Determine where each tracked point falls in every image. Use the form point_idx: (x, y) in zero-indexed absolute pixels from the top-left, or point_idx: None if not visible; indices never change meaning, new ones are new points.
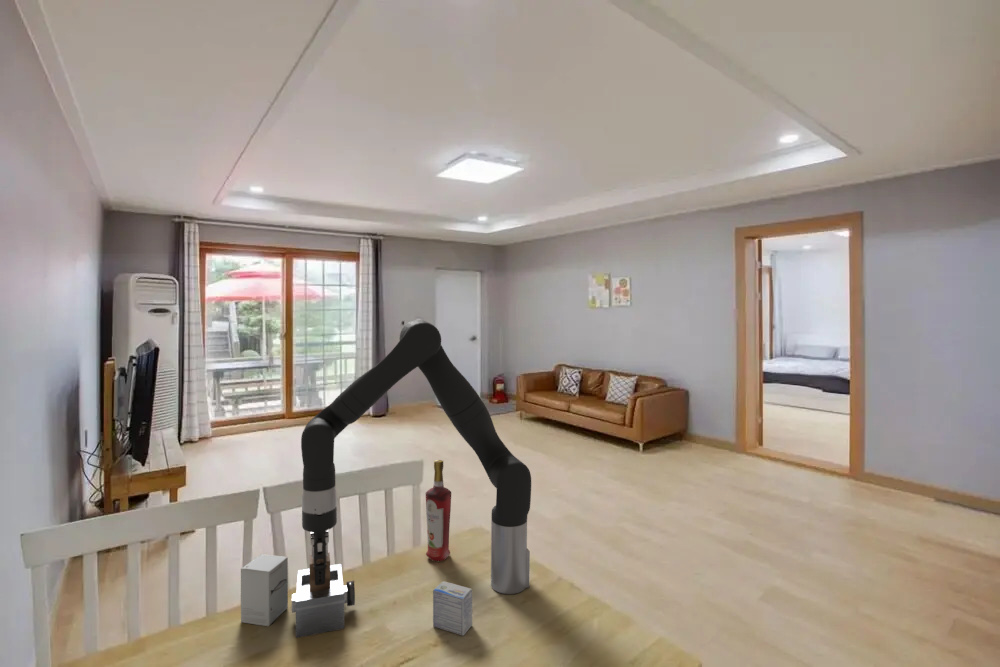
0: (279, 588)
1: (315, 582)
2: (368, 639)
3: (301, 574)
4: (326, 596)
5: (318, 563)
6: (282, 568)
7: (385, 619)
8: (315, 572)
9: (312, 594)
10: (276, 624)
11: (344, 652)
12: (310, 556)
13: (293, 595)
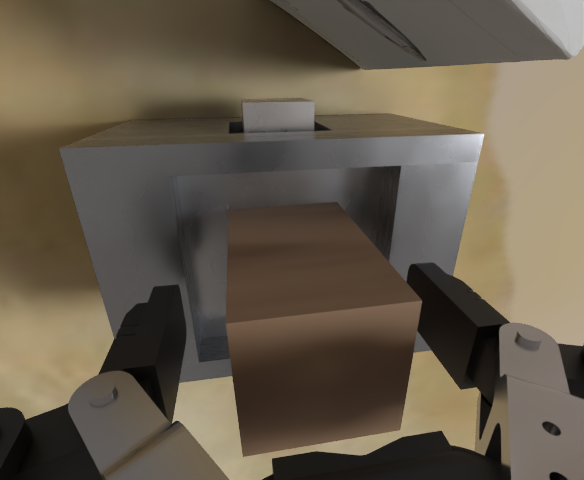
0: (350, 11)
1: (152, 296)
2: (89, 353)
3: (418, 161)
4: (109, 318)
5: (73, 466)
6: (449, 12)
7: (190, 388)
8: (133, 350)
9: (143, 246)
10: (253, 22)
11: (19, 294)
12: (395, 310)
13: (298, 109)
